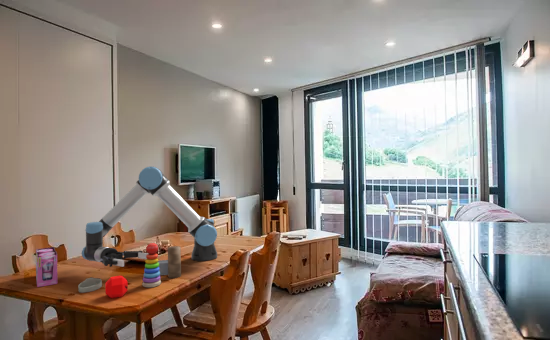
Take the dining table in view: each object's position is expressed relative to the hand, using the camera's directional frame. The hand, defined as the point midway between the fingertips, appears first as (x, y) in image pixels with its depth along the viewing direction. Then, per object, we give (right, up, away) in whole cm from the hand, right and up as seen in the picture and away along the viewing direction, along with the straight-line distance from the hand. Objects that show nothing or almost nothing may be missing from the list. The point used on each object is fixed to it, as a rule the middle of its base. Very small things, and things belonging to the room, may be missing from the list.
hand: (136, 259), depth 150 cm
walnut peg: (+15, -10, +8) cm, 20 cm away
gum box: (-46, -12, +7) cm, 48 cm away
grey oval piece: (-16, -11, -9) cm, 21 cm away
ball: (-1, -10, -17) cm, 20 cm away
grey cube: (+8, -11, +13) cm, 18 cm away
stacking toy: (+9, -10, -5) cm, 14 cm away
